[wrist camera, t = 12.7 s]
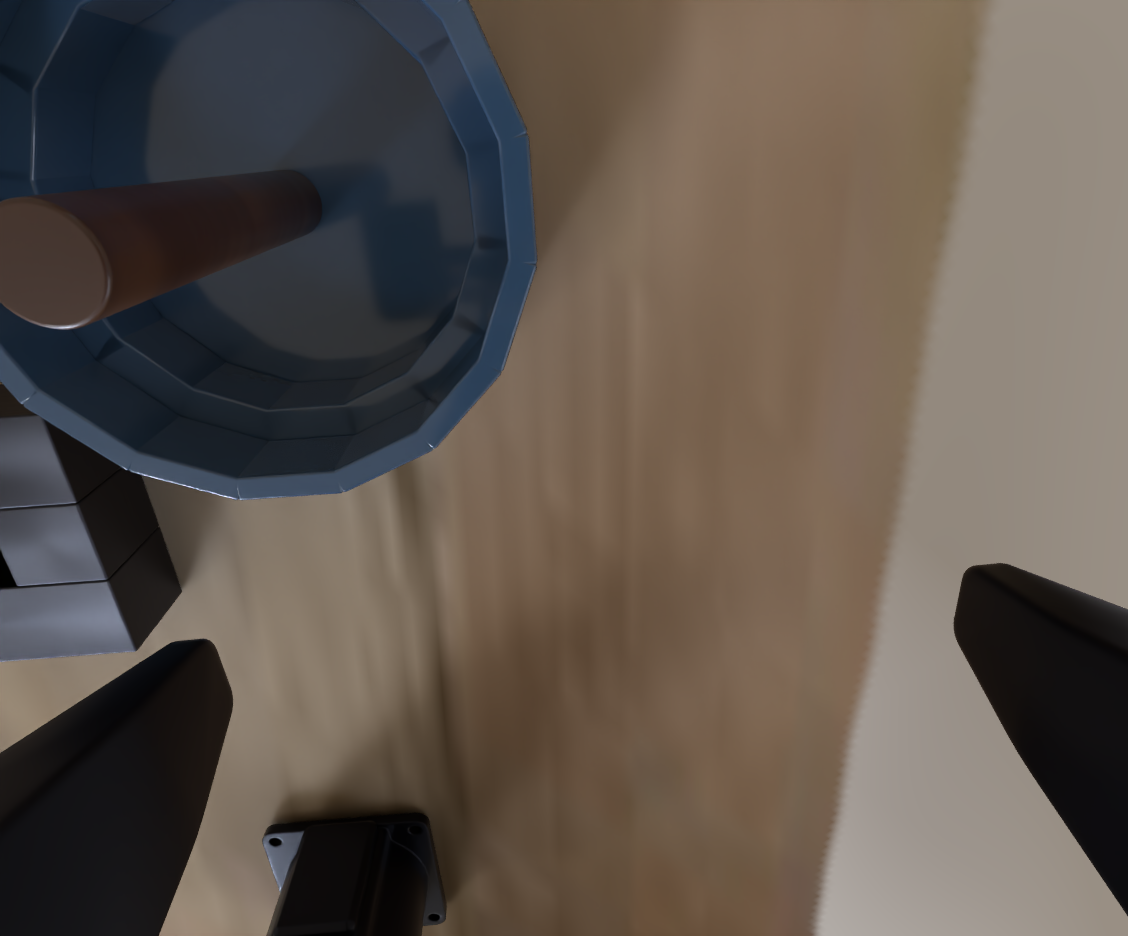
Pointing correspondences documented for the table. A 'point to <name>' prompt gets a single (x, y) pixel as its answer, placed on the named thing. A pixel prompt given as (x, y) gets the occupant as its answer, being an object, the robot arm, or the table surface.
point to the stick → (140, 240)
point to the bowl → (295, 269)
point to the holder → (74, 546)
